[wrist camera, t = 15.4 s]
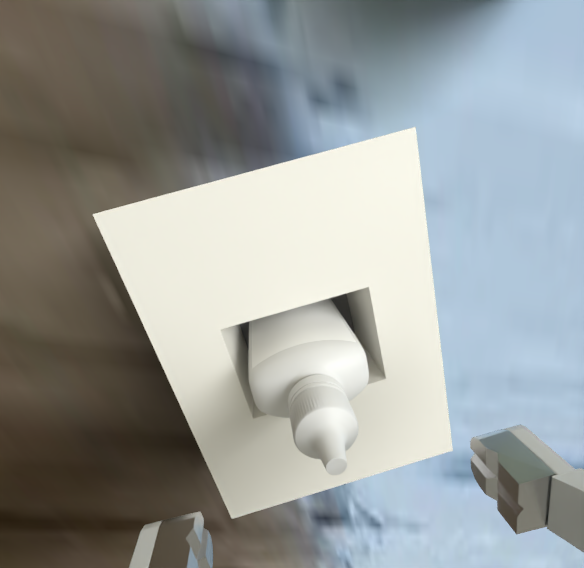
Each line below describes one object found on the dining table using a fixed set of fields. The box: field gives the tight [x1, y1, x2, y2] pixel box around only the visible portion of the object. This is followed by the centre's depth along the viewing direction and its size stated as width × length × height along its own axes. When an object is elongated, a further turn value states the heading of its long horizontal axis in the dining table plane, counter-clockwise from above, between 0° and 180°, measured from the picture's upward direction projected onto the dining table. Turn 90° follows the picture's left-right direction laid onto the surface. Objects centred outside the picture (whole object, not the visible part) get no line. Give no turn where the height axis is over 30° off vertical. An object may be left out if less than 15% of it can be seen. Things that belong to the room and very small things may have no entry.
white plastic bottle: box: [248, 298, 369, 475], centre depth 16 cm, size 4×6×12 cm
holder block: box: [93, 127, 453, 519], centre depth 19 cm, size 18×14×6 cm
